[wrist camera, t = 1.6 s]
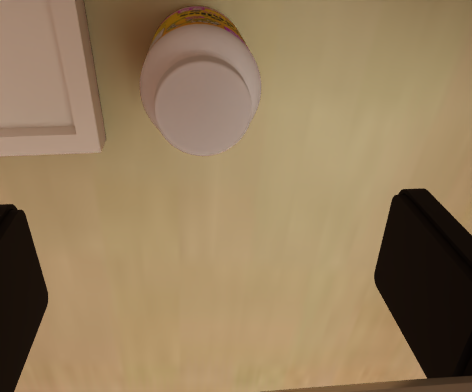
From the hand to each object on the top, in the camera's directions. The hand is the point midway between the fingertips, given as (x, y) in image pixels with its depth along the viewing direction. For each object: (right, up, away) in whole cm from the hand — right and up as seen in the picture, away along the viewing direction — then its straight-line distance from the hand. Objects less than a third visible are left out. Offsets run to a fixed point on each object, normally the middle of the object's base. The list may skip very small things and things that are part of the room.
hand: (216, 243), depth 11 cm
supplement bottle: (-2, +12, +20) cm, 23 cm away
